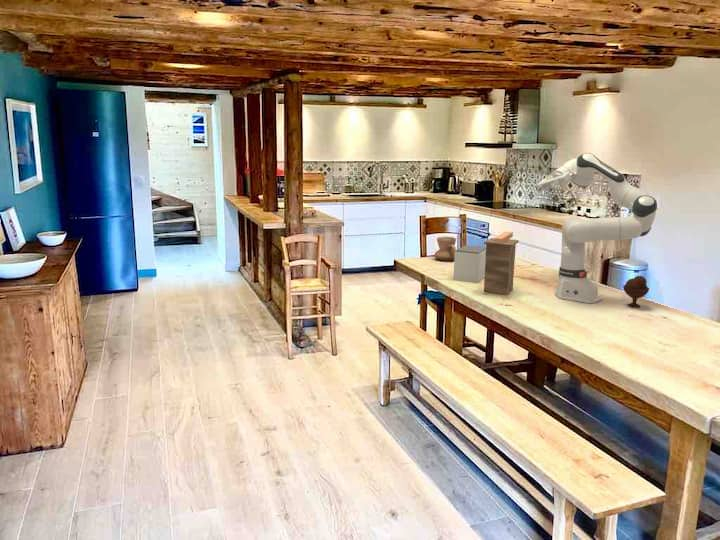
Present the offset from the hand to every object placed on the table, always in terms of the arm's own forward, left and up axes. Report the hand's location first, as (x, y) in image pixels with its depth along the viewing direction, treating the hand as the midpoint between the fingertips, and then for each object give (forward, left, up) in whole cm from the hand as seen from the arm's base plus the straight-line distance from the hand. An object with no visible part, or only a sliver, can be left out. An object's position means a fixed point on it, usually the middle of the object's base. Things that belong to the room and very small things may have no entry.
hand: (544, 188), depth 313 cm
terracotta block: (+6, +26, -25) cm, 37 cm away
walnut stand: (+5, +30, -51) cm, 60 cm away
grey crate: (+32, +18, -51) cm, 63 cm away
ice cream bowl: (-54, +6, -51) cm, 75 cm away
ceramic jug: (+71, -9, -51) cm, 88 cm away
